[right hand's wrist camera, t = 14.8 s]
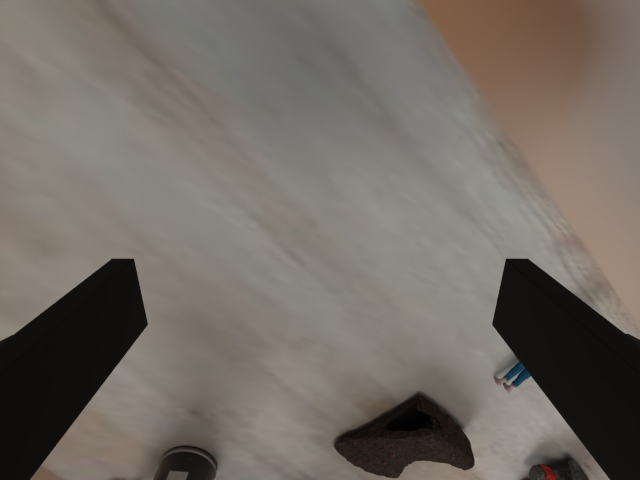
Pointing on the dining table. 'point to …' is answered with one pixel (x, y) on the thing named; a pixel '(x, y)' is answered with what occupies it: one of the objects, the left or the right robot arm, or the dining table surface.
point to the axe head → (408, 441)
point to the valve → (557, 472)
